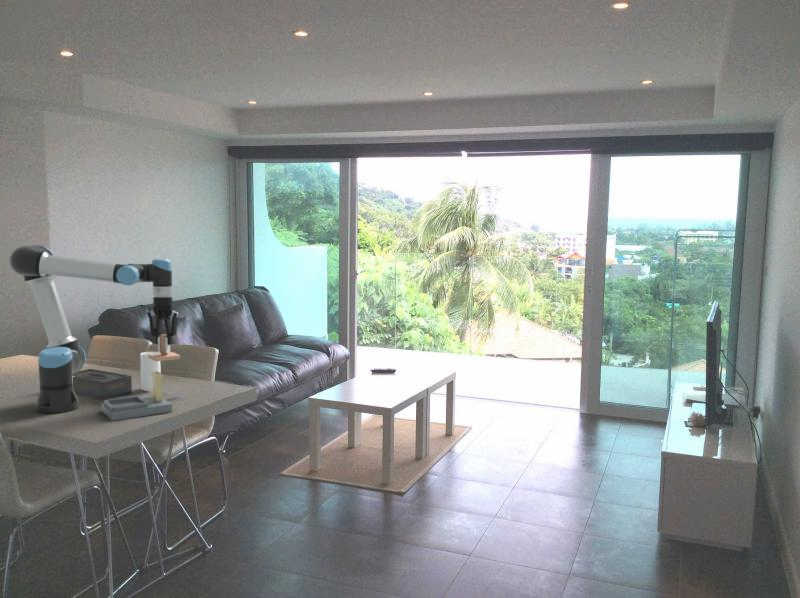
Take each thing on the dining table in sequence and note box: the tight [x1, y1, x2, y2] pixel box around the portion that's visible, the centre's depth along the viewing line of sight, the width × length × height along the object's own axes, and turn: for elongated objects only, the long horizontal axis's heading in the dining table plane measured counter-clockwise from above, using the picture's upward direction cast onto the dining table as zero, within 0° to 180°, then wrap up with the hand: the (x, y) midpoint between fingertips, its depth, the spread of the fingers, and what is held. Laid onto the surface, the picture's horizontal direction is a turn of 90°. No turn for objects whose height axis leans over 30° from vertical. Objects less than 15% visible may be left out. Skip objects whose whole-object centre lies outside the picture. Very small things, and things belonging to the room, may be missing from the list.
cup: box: [140, 351, 162, 392], centre depth 298 cm, size 8×8×16 cm
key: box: [147, 371, 164, 402], centre depth 268 cm, size 12×2×11 cm, turn 36°
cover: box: [148, 333, 181, 362], centre depth 282 cm, size 10×10×10 cm
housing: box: [101, 395, 173, 422], centre depth 261 cm, size 22×16×4 cm
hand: (164, 352), depth 282 cm, fingers closed on cover, 2 cm apart
